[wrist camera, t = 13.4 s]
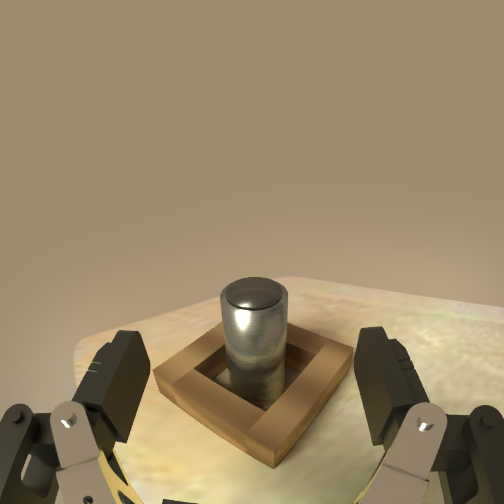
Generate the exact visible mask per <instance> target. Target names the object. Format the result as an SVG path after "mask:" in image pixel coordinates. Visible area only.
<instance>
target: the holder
mask: <svg viewBox="0 0 504 504" xmlns="http://www.w3.org/2000/svg"><path fill="white" fill-rule="evenodd" d="M353 349H354V348H352V347H350V346H347V345H344V344H341V343H339V342H336V341H333V340H331V339H328V338H325V337H323V336H320V335H317V334H315V333H312V332H310V331H307V330H304V329H302V328H299V327H297V326H294V325H292V324H289V323H287V336H286V358H285V365H287V366H289V367H291V368H293V369H295V370H298V371H300V372H302V373H301V374H300V375H299V376H298V377H297V378H296V380H295V381H294V382H293V383H292V384H291V385H290V386H289V387H288V389H287V390H286V391H285V392H284V393H283V394H282V395H281V396H280V397H279V398H278V400H277V401H276V402H275V403H274V404H273V405H272V406H271V407H270V408H269V409H268V410H267V411H266V412H265V411H263V410H262V409H260V408H258V407H256V406H254V405H252V404H251V403H249V402H247V401H245V400H244V399H242V398H240V397H238V396H237V395H235V394H233V393H232V392H230V391H228V390H227V389H225V388H223V387H222V386H220V385H218V384H217V383H215V382H213V381H212V379H213V378H214V377H216V376H217V375H218V374H219V373H221V372H222V371H223V370H224V369H225V368H227V367H228V364H227V356H226V347H225V338H224V329H223V321H222V322H221V323H219V324H218V325H217V326H215V327H214V328H212V329H211V330H210V331H208V332H207V333H205V334H204V335H203V336H201V337H200V338H198V339H197V340H195V341H194V342H193V343H191V344H190V345H188V346H187V347H185V348H184V349H183V350H181V351H180V352H178V353H177V354H175V355H174V356H172V357H171V358H170V359H168V360H167V361H165V362H164V363H162V364H161V365H159V366H158V367H156V368H155V369H153V373H154V376H155V379H156V382H157V385H158V388H159V391H160V393H162V394H163V395H164V396H165V397H167V398H168V399H169V400H170V401H172V402H173V403H174V404H176V405H177V406H178V407H180V408H181V409H182V410H183V411H185V412H186V413H187V414H189V415H190V416H192V417H193V418H194V419H196V420H197V421H198V422H200V423H201V424H203V425H204V426H206V427H207V428H208V429H210V430H211V431H213V432H214V433H216V434H217V435H219V436H220V437H222V438H223V439H225V440H226V441H228V442H229V443H231V444H232V445H234V446H235V447H237V448H239V449H240V450H242V451H243V452H245V453H247V454H248V455H250V456H252V457H253V458H255V459H257V460H258V461H260V462H262V463H264V464H265V465H267V466H269V467H271V468H272V469H274V468H275V467H276V466H277V464H278V463H279V462H280V461H281V460H282V459H283V457H284V456H285V455H286V454H287V453H288V452H289V450H290V449H291V448H292V447H293V445H294V444H295V443H296V442H297V441H298V439H299V438H300V437H301V436H302V434H303V433H304V432H305V430H306V429H307V428H308V427H309V425H310V424H311V423H312V421H313V420H314V419H315V417H316V416H317V415H318V413H319V412H320V411H321V409H322V408H323V407H324V405H325V404H326V402H327V401H328V400H329V398H330V397H331V395H332V394H333V393H334V391H335V390H336V388H337V387H338V385H339V384H340V382H341V381H342V380H343V378H344V377H345V375H346V374H347V372H348V370H349V366H350V362H351V358H352V353H353Z"/></svg>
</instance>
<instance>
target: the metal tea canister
mask: <svg viewBox="0 0 504 504" xmlns="http://www.w3.org/2000/svg"><path fill="white" fill-rule="evenodd" d="M220 301H221V310H222V320H223V329H224V338H225V347H226V356H227V364H228V373H229V381H230V389H231V392H232V393H233V394H235V395H237V396H238V397H240V398H242V399H244V400H245V401H247V402H249V403H251V404H252V405H254V406H256V407H263V406H267V405H270V404H272V403H274V402H275V401H277V400H278V398H279V397H280V396H281V395H282V393H283V390H284V377H285V358H286V336H287V311H288V292H287V290H286V288H285V287H284V286H283V285H281V284H280V283H278V282H276V281H273V280H271V279H267V278H262V277H248V278H243V279H240V280H237V281H235V282H233V283H231V284H229V285H227V286H226V287H225V288H224V289H223V290H222V292H221V295H220Z"/></svg>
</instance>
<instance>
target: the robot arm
mask: <svg viewBox="0 0 504 504" xmlns="http://www.w3.org/2000/svg"><path fill="white" fill-rule="evenodd" d="M354 372H355V377H356V380H357V384H358V388H359V391H360V395H361V399H362V403H363V406H364V410H365V414H366V418H367V422H368V426H369V430H370V434H371V439H372V443H373V446H376V445H382V444H383V446H384V450H385V452H384V454H383V456H382V458H381V459H380V461H379V463H378V465H377V467H376V468H375V470H374V472H373V473H372V475H371V477H370V478H369V480H368V482H367V483H366V485H365V487H364V488H363V490H362V491H361V493H360V494H359V496H358V497H357V499H356V500H355V502H354V503H353V504H421V501H422V499H423V497H424V495H425V493H426V491H427V488H428V485H429V480H427V478H428V475H429V472H430V471H438V474H439V478H440V482H441V487H442V492H443V496H444V501H445V504H504V419H503V417H502V415H501V413H500V412H499V411H498V410H497V409H496V408H494V407H492V406H488V405H482V406H479V407H477V408H475V409H474V410H473V411H472V413H471V414H470V415H448V414H445V413H444V411H443V410H442V409H441V408H440V407H439V406H437V405H435V404H432V403H430V401H429V399H428V397H427V395H426V392H425V390H424V388H423V385H422V383H421V381H420V379H419V376H418V374H417V372H416V370H415V369H414V365H413V363H412V361H410V357H409V355H408V353H407V350H406V348H405V347H404V346H403V345H402V344H401V343H400V342H399V341H397V340H396V339H388V337H387V335H386V333H385V331H384V329H383V327H382V326H379V327H368V328H362V329H361V330H360V334H359V339H358V343H357V348H356V353H355V357H354ZM149 375H150V360H149V357H148V354H147V352H146V349H145V346H144V343H143V340H142V337H141V334H140V333H139V332H138V331H126V330H119V331H118V332H117V334H116V335H115V337H114V339H113V341H112V343H108V342H107V343H106V344H105V345H104V346H103V347H102V348H101V349H99V350H98V352H97V353H96V355H95V357H94V359H93V361H92V363H91V364H90V366H89V368H88V371H87V372H86V374H85V376H84V377H83V379H82V381H81V383H80V385H79V387H78V389H77V391H76V393H75V395H74V397H73V399H72V401H68V402H64V403H61V404H60V405H58V406H57V407H56V408H55V409H54V410H53V412H52V413H37V414H34V413H33V412H32V410H31V409H30V408H29V407H28V406H27V405H25V404H16V405H13V406H11V407H10V408H9V409H8V410H7V411H6V412H5V414H4V416H3V418H2V420H1V422H0V504H54V503H55V500H56V496H57V492H58V489H59V488H60V491H61V494H62V497H63V500H64V502H65V504H144V503H143V502H142V500H141V499H140V498H139V496H138V495H137V494H136V492H135V491H134V489H133V487H132V486H131V484H130V482H129V480H128V477H127V475H126V473H125V471H124V469H123V467H122V465H121V463H120V461H119V458H118V456H117V454H116V452H115V450H114V445H115V442H116V441H117V442H122V443H127V440H128V437H129V434H130V431H131V428H132V425H133V422H134V419H135V416H136V413H137V410H138V407H139V404H140V401H141V398H142V395H143V392H144V389H145V386H146V384H147V381H148V378H149ZM28 454H30V455H31V459H30V462H29V464H28V467H27V469H26V472H25V475H24V478H23V481H22V480H21V472H22V469H23V467H24V464H25V461H26V459H27V456H28ZM162 504H197V503H188V502H181V501H174V500H167V499H163V502H162Z"/></svg>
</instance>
